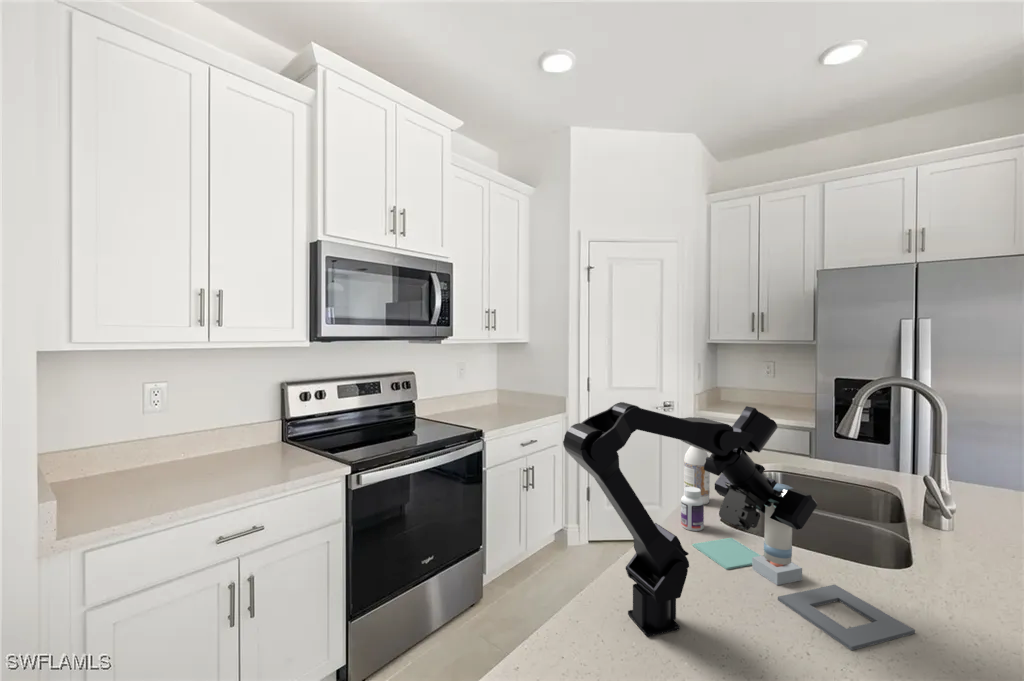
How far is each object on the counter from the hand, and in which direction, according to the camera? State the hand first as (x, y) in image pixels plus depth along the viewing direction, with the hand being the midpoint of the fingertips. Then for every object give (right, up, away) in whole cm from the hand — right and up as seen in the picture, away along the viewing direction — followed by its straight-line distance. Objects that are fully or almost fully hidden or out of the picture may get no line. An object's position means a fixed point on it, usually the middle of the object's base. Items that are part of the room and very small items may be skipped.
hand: (783, 521), depth 89 cm
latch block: (+2, -13, +6) cm, 14 cm away
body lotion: (+1, -12, +45) cm, 47 cm away
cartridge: (-1, -7, 0) cm, 7 cm away
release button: (+2, -12, +5) cm, 14 cm away
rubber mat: (-4, -13, +14) cm, 20 cm away
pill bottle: (-7, -13, +28) cm, 31 cm away
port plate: (+6, -14, -8) cm, 17 cm away
